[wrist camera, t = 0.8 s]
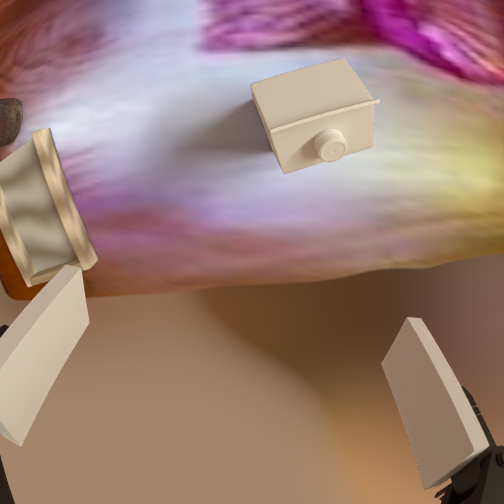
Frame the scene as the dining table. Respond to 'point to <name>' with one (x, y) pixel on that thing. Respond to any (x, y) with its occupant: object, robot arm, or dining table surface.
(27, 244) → the tray
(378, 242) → the dining table surface
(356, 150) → the milk carton
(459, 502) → the robot arm
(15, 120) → the candle
